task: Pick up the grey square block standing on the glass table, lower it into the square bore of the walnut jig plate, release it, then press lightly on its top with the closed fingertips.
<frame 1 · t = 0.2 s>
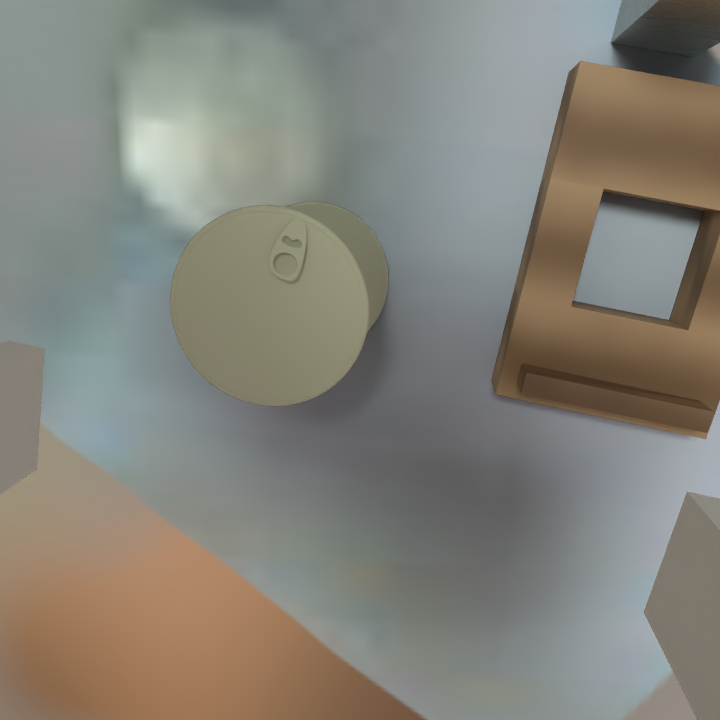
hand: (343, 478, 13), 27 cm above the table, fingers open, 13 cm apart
grey square block: (664, 5, 34), on the table
jig: (630, 255, 38), on the table
can: (315, 278, 40), on the table
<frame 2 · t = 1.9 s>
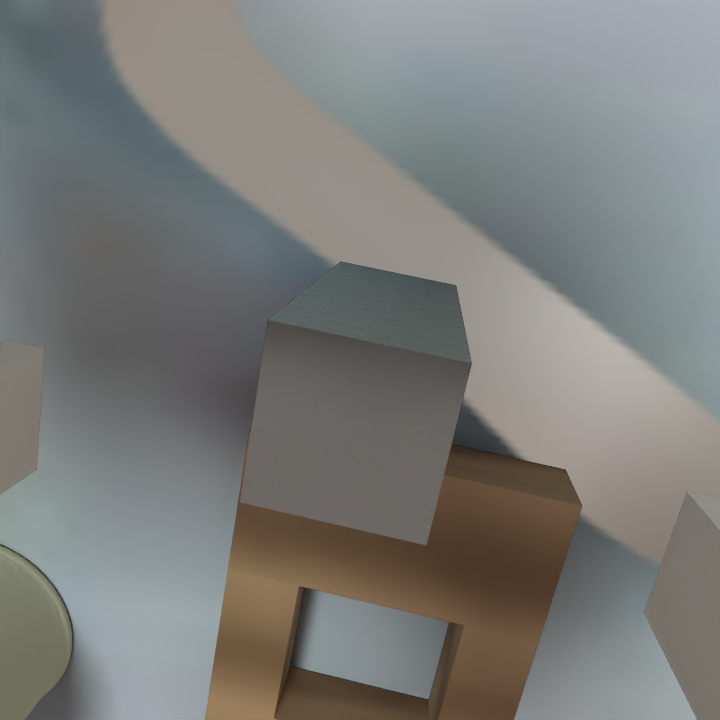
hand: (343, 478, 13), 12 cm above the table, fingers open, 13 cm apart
grey square block: (386, 329, 25), on the table
jig: (372, 624, 28), on the table
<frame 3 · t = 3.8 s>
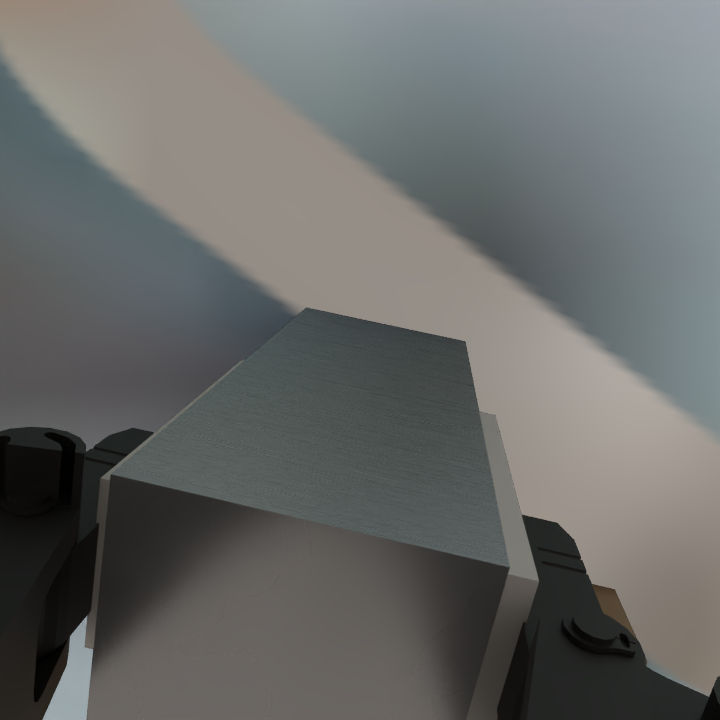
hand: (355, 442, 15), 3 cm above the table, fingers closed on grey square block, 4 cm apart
grey square block: (369, 400, 18), on the table, touching gripper
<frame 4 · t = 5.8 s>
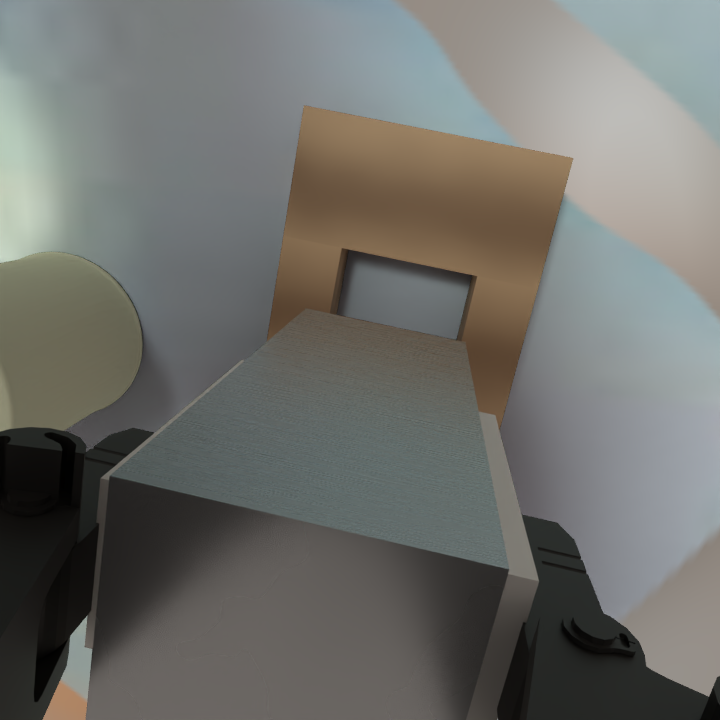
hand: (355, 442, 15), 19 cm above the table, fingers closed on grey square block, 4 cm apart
grey square block: (369, 400, 18), point 16 cm above the table, touching gripper
jig: (398, 316, 34), on the table
can: (66, 334, 36), on the table
when the fingers open (5 cm above the table, at t = 8.1 s): grey square block drops 2 cm, resting in jig.
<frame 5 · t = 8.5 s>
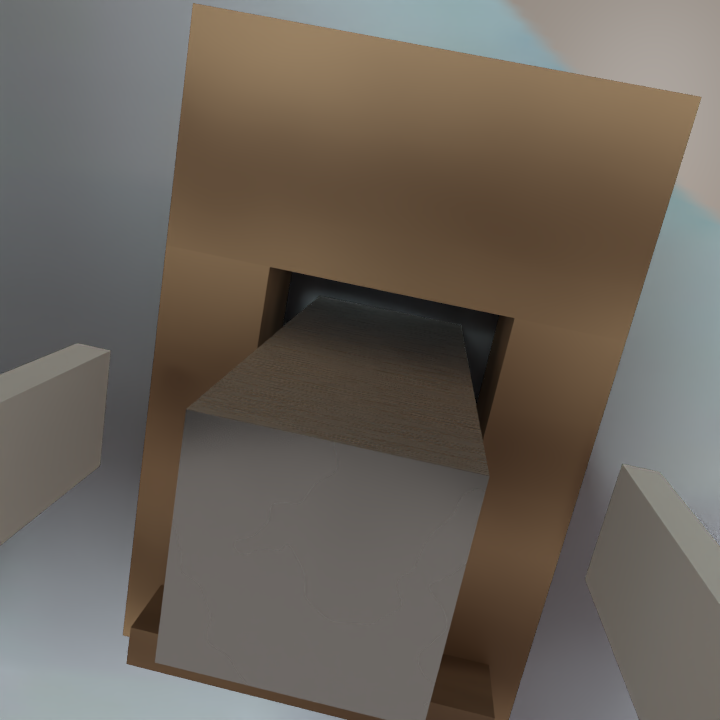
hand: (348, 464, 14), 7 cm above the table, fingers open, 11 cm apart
grey square block: (376, 378, 20), resting in jig
jig: (376, 378, 20), on the table
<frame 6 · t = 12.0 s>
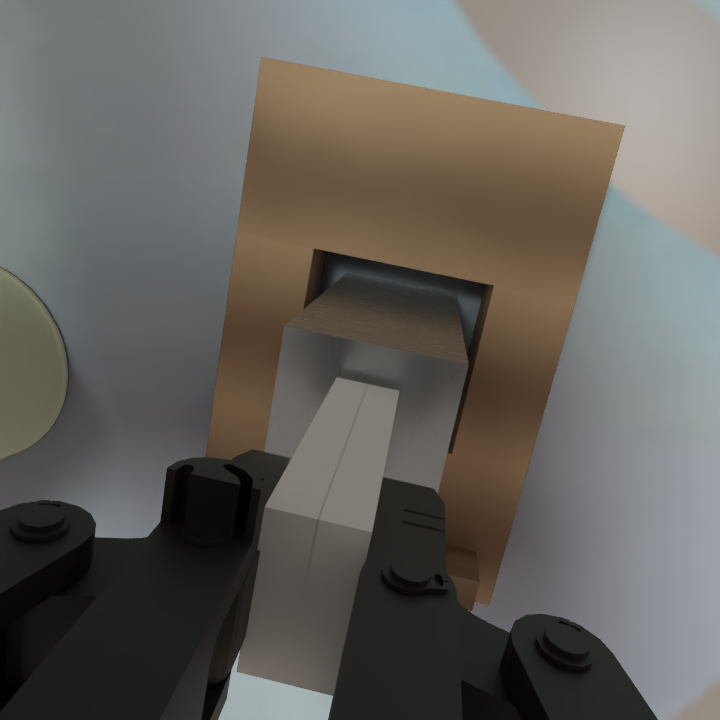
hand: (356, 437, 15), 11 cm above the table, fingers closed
grey square block: (390, 336, 26), resting in jig
jig: (390, 336, 26), on the table
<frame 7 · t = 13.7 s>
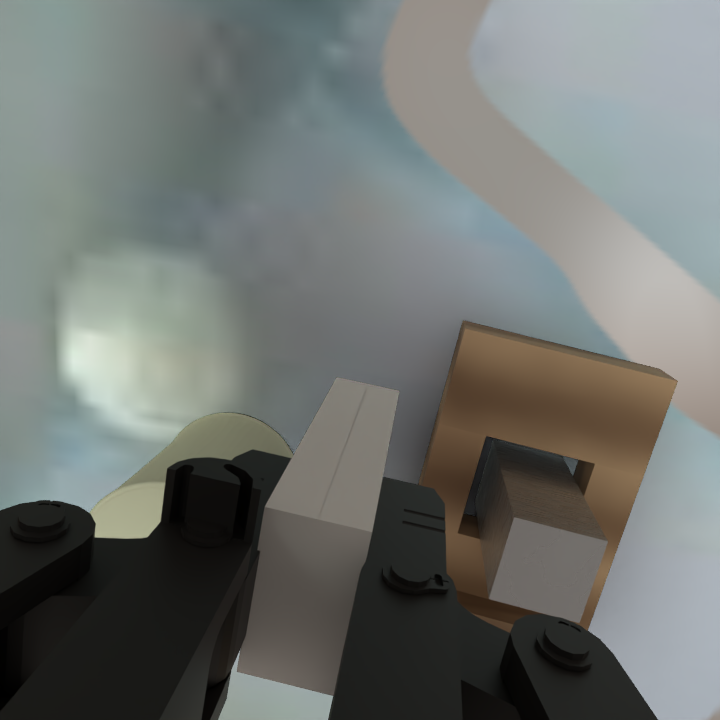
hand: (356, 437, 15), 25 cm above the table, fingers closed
grey square block: (517, 479, 41), resting in jig
jig: (518, 479, 41), on the table
can: (233, 476, 43), on the table
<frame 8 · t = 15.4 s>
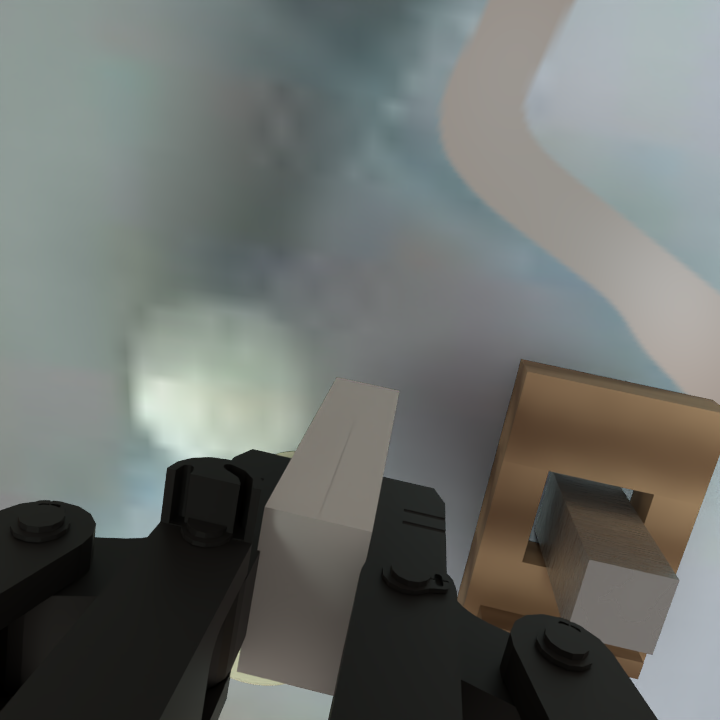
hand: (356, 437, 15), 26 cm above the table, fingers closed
grey square block: (575, 506, 43), resting in jig
jig: (576, 506, 43), on the table
can: (301, 510, 46), on the table
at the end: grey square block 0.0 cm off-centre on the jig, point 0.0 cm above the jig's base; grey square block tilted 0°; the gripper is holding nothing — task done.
